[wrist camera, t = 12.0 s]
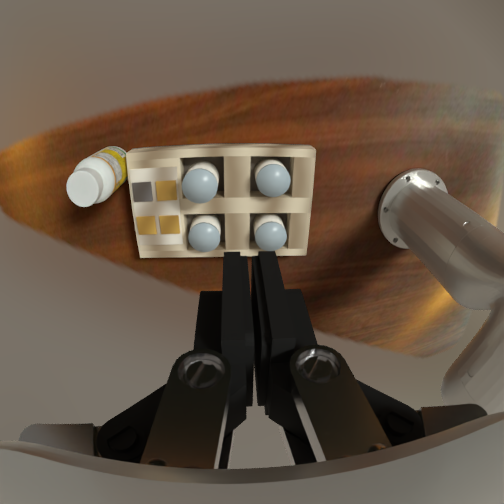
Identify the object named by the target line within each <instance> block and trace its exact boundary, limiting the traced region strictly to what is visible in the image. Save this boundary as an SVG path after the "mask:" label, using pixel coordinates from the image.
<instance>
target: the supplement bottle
mask: <svg viewBox="0 0 504 504" xmlns="http://www.w3.org/2000/svg"><path fill="white" fill-rule="evenodd" d="M127 178H128V171H127V161H126V152H125V151H124V150H123V149H121V148H119V147H115V146H110V147H106V148H104V149H102V150H100V151H99V152H97V153H95V154H93V155H91V156H89V157H88V158H86V159H84V160H82V161H81V162H80V163H79V164H78V165H77V166H76V168H75V170H74V173H73V174H72V175H71V176H70V177H69V179H68V181H67V193H68V196H69V198H70V199H71V201H72V202H73V203H74V204H76V205H78V206H80V207H88V206H90V205H92V204H95V203H100V202H103V201H105V200H106V199H107V198H108V197H109V196H111V195H112V194H113V193H114V192H115V191H116V190H117V189H118V188H119V187H120V186H121V185H122V184H123V183H124V182H125V181H126V180H127Z"/></svg>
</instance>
